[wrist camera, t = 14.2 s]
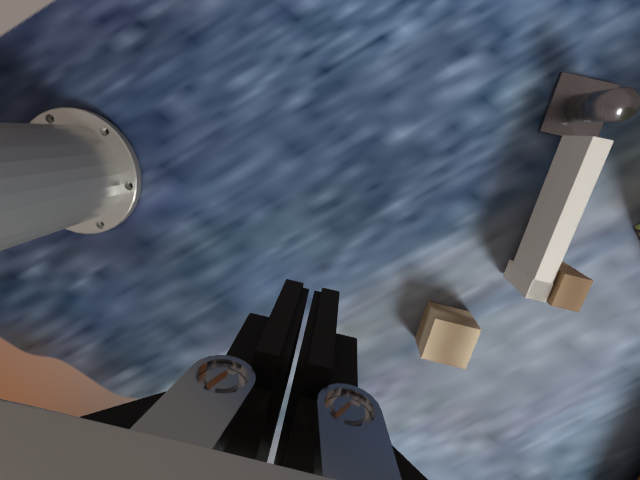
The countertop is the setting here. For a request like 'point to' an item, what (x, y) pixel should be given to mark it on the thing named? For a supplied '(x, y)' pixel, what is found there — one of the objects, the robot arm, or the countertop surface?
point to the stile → (569, 288)
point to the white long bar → (557, 214)
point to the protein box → (637, 230)
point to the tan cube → (447, 335)
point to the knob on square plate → (586, 106)
